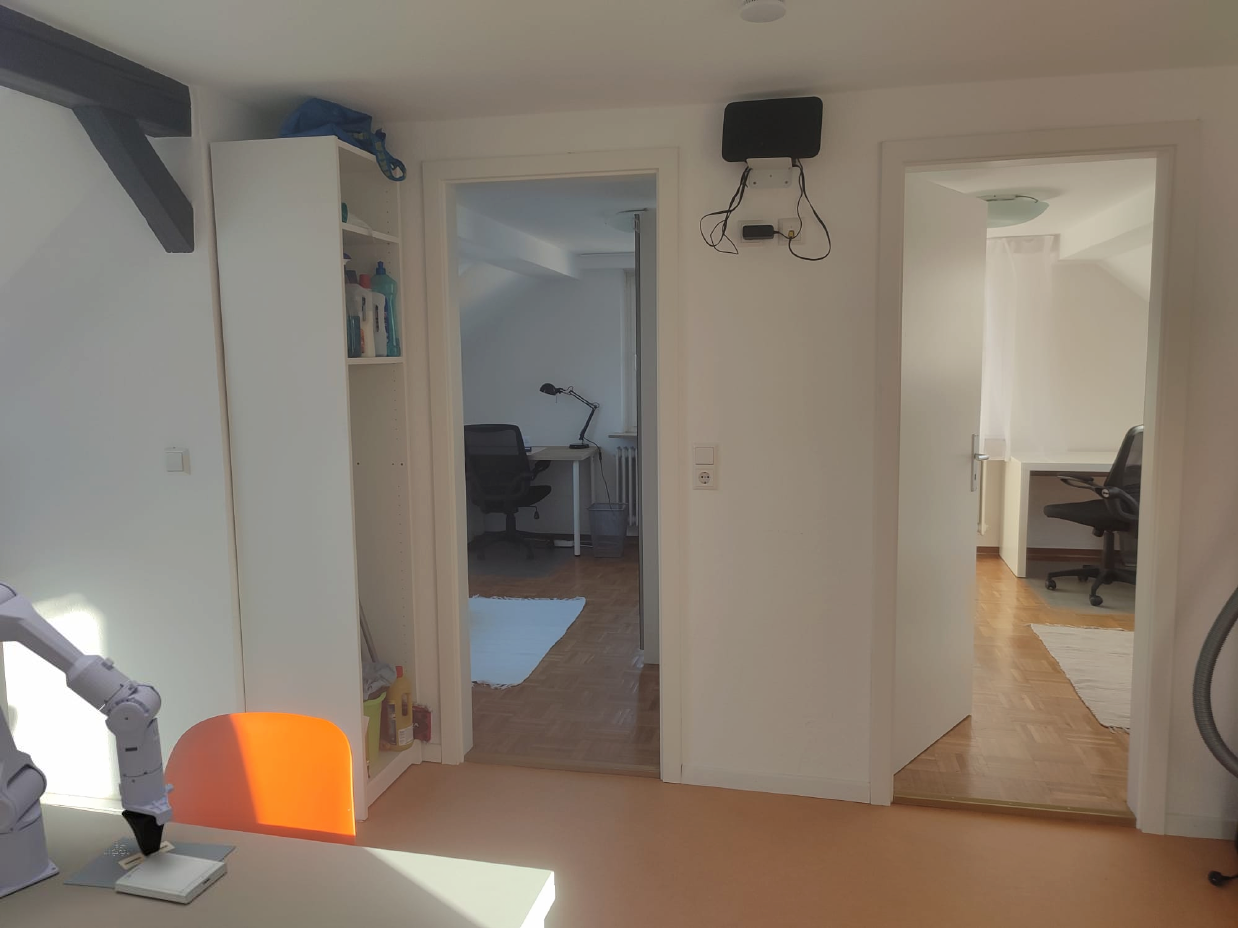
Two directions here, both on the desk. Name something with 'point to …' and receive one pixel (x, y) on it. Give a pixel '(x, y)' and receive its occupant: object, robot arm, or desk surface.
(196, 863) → the hard drive
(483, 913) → the desk surface
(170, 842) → the label mat
